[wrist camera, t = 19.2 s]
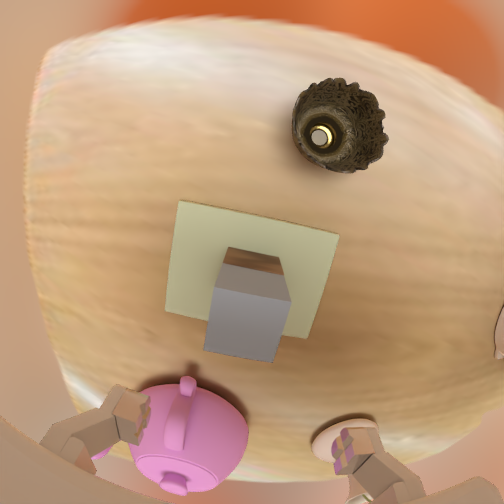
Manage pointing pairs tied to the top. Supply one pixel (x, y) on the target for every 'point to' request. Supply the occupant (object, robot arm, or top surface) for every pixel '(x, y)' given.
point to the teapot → (189, 438)
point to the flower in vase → (323, 452)
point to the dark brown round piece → (339, 126)
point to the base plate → (251, 239)
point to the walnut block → (253, 260)
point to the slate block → (247, 313)
